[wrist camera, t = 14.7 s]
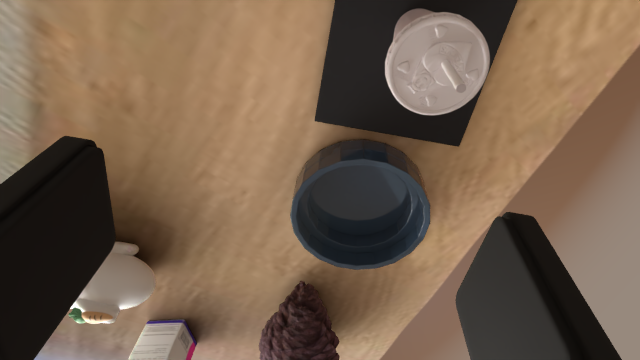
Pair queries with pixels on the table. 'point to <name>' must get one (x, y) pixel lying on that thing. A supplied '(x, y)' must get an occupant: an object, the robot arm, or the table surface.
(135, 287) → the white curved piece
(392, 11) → the mat
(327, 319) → the pine cone
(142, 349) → the supplement box
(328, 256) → the dish
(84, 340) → the table surface
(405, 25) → the smoothie
